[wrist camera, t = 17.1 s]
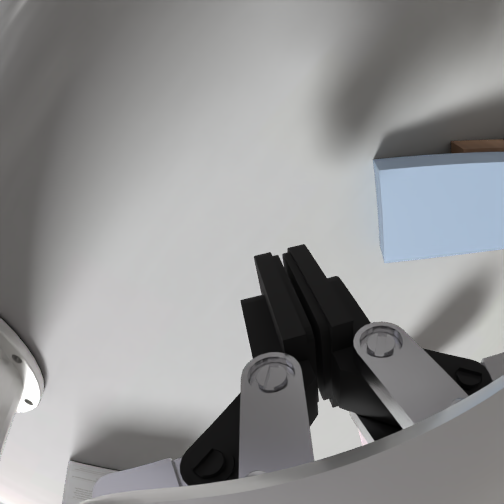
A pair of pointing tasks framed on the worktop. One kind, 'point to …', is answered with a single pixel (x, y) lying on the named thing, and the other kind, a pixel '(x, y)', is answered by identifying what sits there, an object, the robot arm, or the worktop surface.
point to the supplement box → (81, 481)
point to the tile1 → (440, 204)
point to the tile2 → (477, 146)
